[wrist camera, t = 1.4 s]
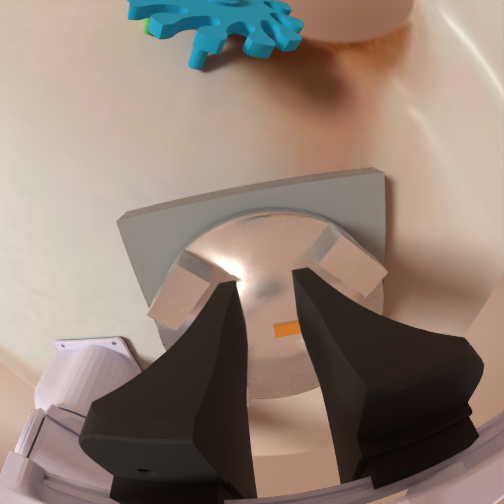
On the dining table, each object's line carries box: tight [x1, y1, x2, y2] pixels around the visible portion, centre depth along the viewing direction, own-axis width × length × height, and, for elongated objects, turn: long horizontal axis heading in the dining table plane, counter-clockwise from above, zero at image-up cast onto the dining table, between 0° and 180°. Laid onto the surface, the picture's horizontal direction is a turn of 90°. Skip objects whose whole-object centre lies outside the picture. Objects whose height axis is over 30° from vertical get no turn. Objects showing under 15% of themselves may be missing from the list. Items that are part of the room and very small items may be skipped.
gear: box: [127, 0, 304, 69], centre depth 13 cm, size 11×6×10 cm
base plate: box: [117, 167, 386, 325], centre depth 22 cm, size 18×18×2 cm
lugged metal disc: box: [147, 207, 388, 407], centre depth 19 cm, size 16×16×4 cm
